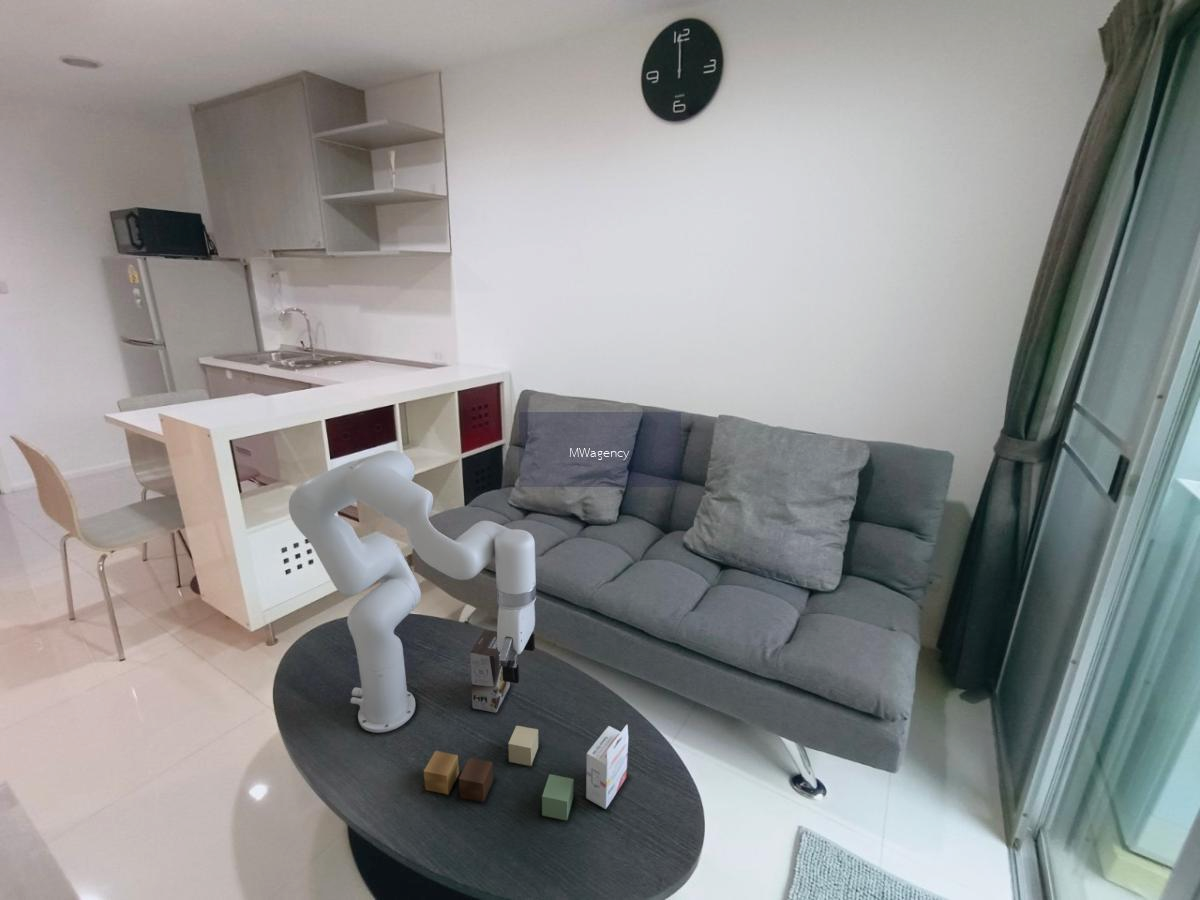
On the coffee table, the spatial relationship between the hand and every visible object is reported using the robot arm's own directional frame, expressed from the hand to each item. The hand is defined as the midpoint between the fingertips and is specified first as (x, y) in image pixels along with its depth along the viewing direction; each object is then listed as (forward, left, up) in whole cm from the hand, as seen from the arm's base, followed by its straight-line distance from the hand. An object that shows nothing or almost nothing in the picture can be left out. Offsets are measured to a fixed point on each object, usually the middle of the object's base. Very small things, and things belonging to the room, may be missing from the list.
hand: (519, 664), depth 112 cm
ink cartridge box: (+20, -4, -24) cm, 31 cm away
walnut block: (-6, -10, -23) cm, 26 cm away
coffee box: (-12, +14, -24) cm, 30 cm away
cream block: (+1, 0, -23) cm, 23 cm away
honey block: (-13, -10, -23) cm, 29 cm away
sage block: (+11, -10, -23) cm, 28 cm away
